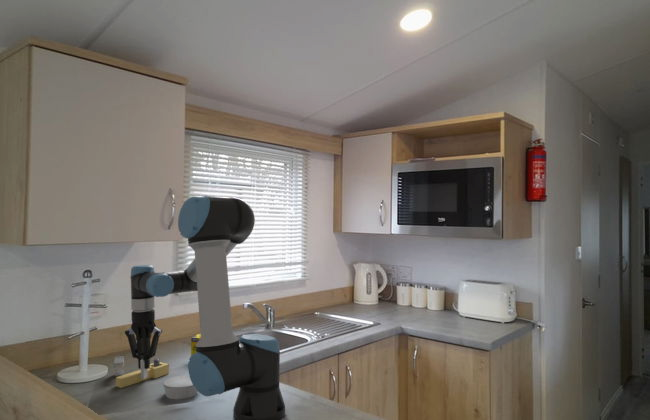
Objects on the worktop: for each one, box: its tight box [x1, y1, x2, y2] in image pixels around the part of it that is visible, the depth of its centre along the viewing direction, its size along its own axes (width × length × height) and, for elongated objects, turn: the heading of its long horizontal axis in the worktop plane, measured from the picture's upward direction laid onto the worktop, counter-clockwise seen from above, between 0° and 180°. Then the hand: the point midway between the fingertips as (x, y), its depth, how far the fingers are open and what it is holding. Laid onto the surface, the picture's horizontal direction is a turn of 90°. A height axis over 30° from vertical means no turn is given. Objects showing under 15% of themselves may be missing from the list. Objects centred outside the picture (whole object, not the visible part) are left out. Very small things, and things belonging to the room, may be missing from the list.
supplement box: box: [190, 333, 201, 357], centre depth 183 cm, size 6×6×11 cm
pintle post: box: [153, 358, 161, 367], centre depth 166 cm, size 2×2×6 cm
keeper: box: [113, 355, 125, 377], centre depth 163 cm, size 8×3×7 cm, turn 22°
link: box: [115, 361, 170, 389], centre depth 161 cm, size 18×6×3 cm, turn 148°
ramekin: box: [163, 374, 199, 400], centre depth 148 cm, size 11×11×5 cm
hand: (144, 377), depth 159 cm, fingers closed
